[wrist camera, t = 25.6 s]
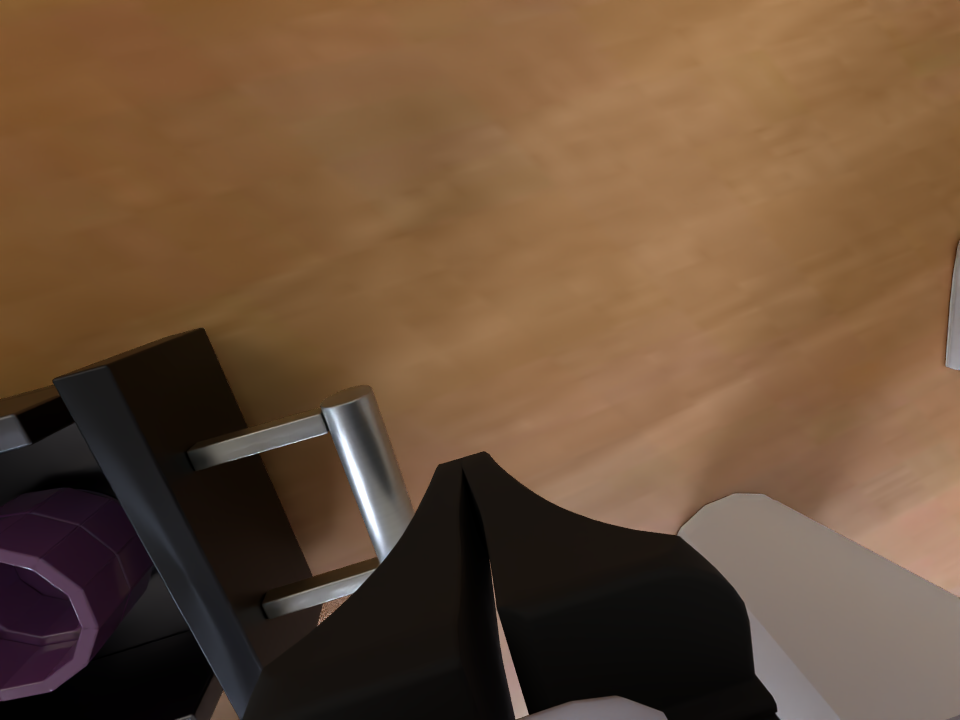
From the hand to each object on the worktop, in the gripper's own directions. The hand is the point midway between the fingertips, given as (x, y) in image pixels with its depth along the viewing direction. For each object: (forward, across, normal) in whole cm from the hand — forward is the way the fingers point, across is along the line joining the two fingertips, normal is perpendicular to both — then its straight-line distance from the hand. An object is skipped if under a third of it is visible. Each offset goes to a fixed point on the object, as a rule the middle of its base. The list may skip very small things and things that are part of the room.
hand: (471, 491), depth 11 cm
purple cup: (+4, +12, 0) cm, 13 cm away
